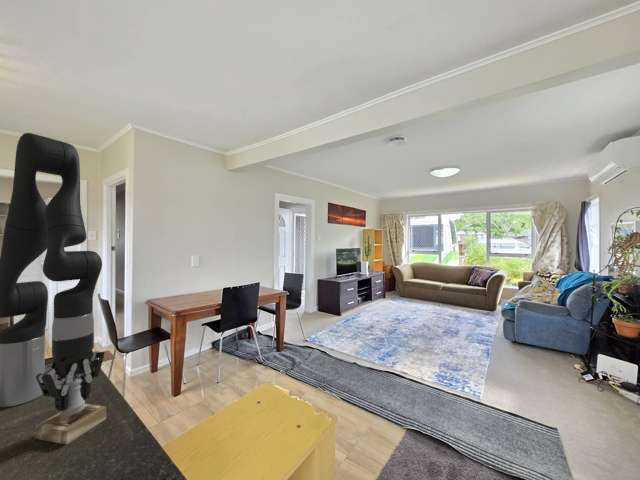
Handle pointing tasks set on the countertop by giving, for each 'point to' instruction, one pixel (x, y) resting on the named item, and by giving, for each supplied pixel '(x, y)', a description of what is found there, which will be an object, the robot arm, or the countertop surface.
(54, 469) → the countertop surface
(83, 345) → the robot arm
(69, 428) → the socket block
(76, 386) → the rook chess piece
